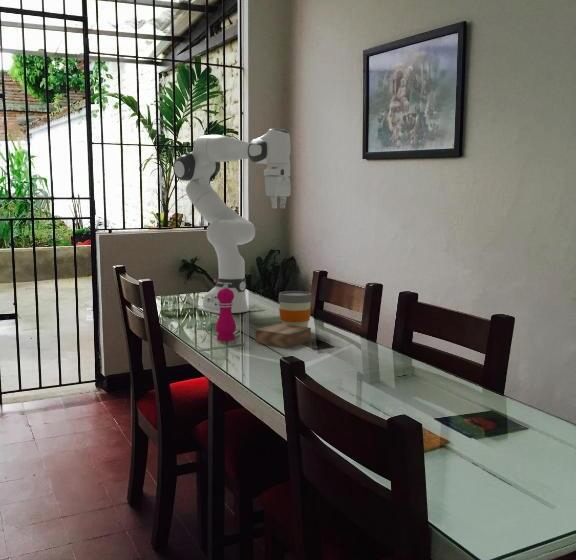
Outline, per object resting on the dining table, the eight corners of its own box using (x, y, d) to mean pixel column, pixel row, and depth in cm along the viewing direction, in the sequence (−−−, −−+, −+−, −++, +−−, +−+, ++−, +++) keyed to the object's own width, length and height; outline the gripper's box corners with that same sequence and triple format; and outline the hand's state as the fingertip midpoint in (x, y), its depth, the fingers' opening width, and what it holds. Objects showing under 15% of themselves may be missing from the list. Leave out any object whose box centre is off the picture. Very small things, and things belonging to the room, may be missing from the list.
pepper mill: (212, 341, 229) (211, 285, 226) (221, 337, 235) (220, 282, 233) (230, 342, 226) (230, 286, 224) (239, 338, 233) (239, 283, 231)
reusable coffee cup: (306, 328, 252) (306, 290, 250) (315, 335, 240) (316, 295, 238) (275, 330, 249) (275, 291, 247) (282, 336, 237) (282, 296, 235)
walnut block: (255, 343, 227) (255, 329, 227) (278, 336, 239) (278, 323, 238) (288, 348, 219) (288, 334, 219) (310, 341, 231) (310, 327, 230)
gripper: (279, 173, 257) (279, 208, 259) (262, 170, 238) (261, 208, 240) (294, 172, 255) (294, 208, 257) (278, 170, 236) (278, 208, 238)
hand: (278, 208), depth 248 cm, fingers open, 8 cm apart
